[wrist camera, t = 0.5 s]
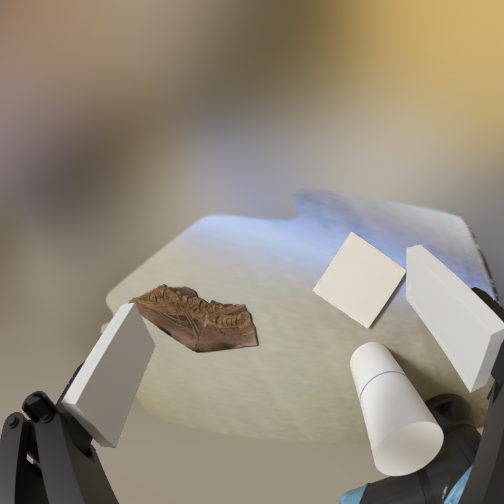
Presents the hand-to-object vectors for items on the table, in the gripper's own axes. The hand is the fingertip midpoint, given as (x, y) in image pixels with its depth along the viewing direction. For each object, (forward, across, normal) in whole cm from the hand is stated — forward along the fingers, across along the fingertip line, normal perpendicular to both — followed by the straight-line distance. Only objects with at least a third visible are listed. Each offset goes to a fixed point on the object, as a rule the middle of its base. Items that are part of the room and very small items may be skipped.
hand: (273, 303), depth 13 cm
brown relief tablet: (+31, +18, +20) cm, 41 cm away
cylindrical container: (+23, -12, +30) cm, 40 cm away
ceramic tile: (+28, -12, +17) cm, 35 cm away
